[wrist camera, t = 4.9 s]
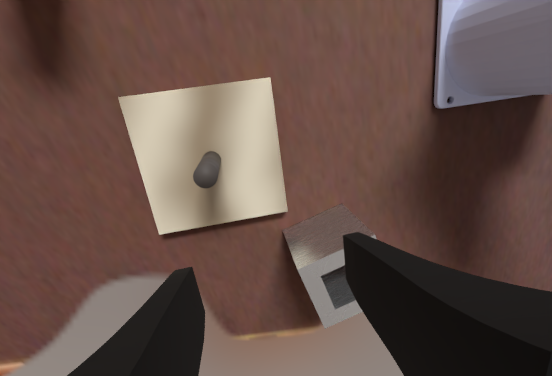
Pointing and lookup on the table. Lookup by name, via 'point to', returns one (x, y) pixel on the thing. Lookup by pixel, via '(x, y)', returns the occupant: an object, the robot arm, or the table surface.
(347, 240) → the robot arm
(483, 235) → the table surface
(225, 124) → the cream tile with peg
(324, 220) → the grey hollow cube
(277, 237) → the table surface
